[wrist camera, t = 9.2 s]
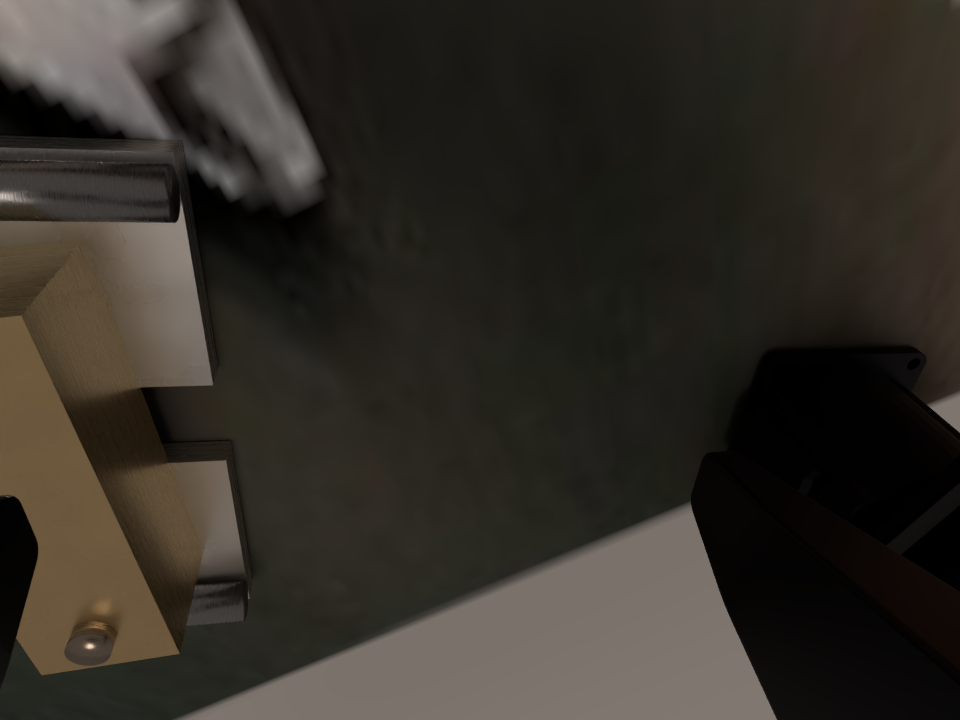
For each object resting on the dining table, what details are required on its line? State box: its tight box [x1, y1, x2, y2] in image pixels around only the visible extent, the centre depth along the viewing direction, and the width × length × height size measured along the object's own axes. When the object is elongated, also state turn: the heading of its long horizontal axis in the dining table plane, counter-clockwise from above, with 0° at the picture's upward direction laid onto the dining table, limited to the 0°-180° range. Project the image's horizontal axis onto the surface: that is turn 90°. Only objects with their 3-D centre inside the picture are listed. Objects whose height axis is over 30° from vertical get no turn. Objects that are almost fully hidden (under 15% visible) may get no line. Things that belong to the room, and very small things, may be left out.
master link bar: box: [0, 240, 203, 675], centre depth 18 cm, size 4×12×5 cm, turn 2°
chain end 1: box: [0, 135, 218, 387], centre depth 17 cm, size 8×7×2 cm
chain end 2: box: [15, 441, 253, 641], centre depth 23 cm, size 8×7×2 cm
